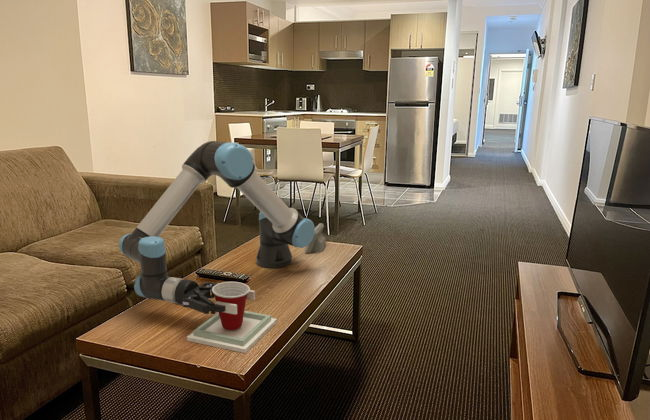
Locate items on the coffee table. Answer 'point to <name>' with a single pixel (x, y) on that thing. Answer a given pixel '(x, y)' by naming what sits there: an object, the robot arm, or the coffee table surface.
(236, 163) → the robot arm
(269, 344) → the coffee table surface
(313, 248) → the grey irregular lump
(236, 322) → the plastic cup
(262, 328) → the base plate
